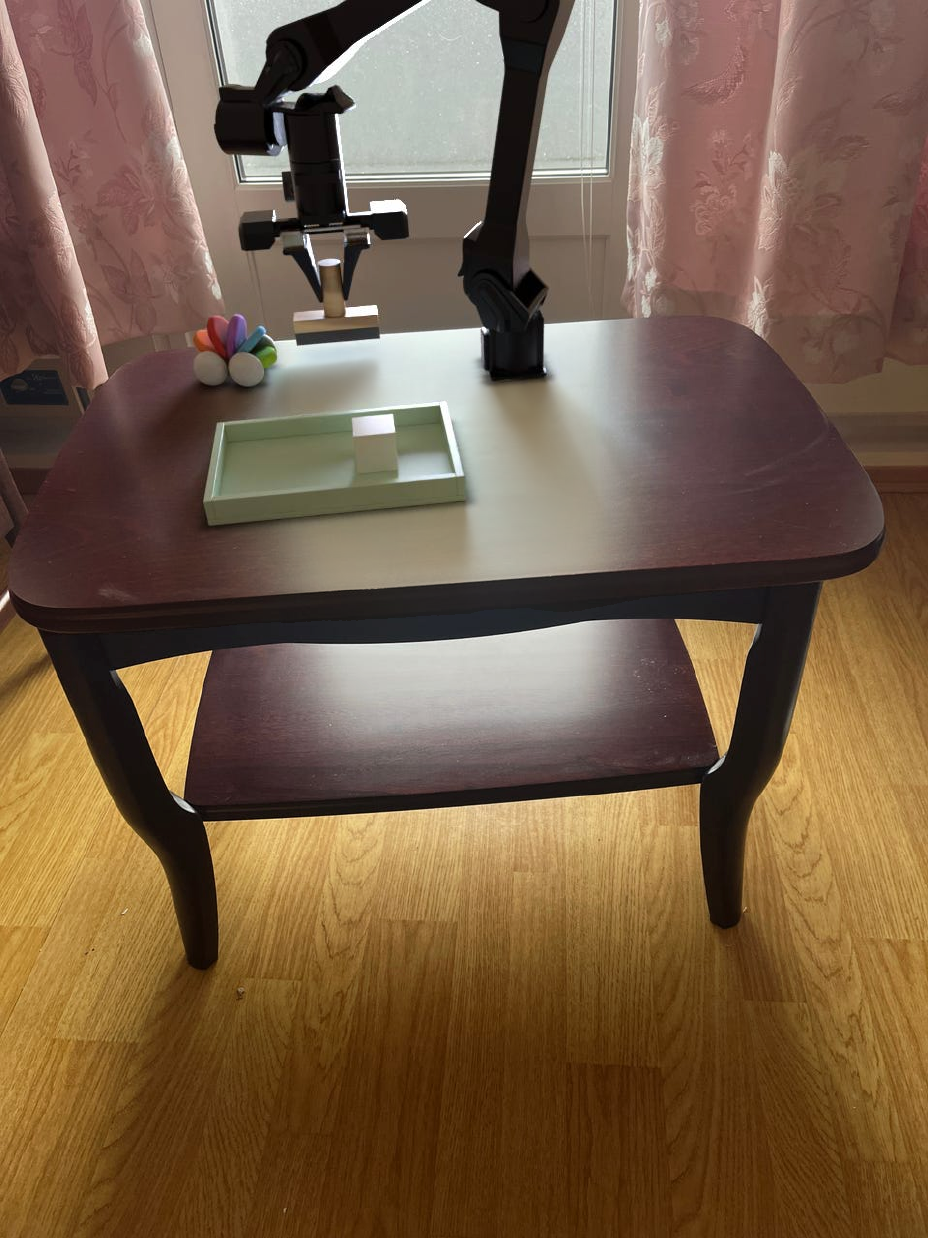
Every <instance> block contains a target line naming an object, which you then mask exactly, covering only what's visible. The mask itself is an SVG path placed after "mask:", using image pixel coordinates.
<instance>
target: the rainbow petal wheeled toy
mask: <svg viewBox="0 0 928 1238" xmlns="http://www.w3.org/2000/svg"><path fill="white" fill-rule="evenodd" d="M266 332H267V331H266V328H265V327H264V326H262V325H259V326H258V327H257V328H256V329H255V330H254V331H253V332H252V333H251V334H249V336H247V322H246V319H245V317H243V316H242V315H241V314H238V313H235V314H233V315H232V316H231V318H230V320H229V321H228V320H226V319H225V318H224V317H222V316H220V315H212V316H210V317H209V318H208V319H207V322H206V329H200V330H197V331H196V332H195V333H194V334H193V338H192V339H193V340H192V341H193V345H195V348H196V349H197V350H198V351H199V352H200V353H198V354H197V355H196V356H195V358H194V360H193V364H192V365H193V367H192V368H193V372H194V375H195V376H196V378H197V379H198V380H199V381H200V382H201V383H203V384H205V385H208V386H218V385H222V384H223V383H224V382H226V380H227V378H228V376H229V375H230V377H231V378H232V380H233V381H234V382H235V383H236V384H238V385H240V386H242V387H253V386H256V385H258V384H259V383H260V382H261V381H262V380H263V378H264V374H265V371H264V370H265V369H267V368H271V366H273V365H275V363H276V362H277V360H278V348H277V345H276V343H275V341H274V340H273V339H272V338H271V337H270V336H269V335H267V334H266Z"/></svg>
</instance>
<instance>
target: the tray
mask: <svg viewBox="0 0 928 1238" xmlns="http://www.w3.org/2000/svg"><path fill="white" fill-rule="evenodd" d="M387 414H393V420H394V427H395V435H396V445H397V456H398V467H399V470H392V471H382V472H371V473H361V474H358V473H357V466H356V458H355V450H354V442H353V432H352V418H355V417H366V416H376V415H387ZM211 448H212V449H211V455H210V460H209V461H210V462H209V467H208V471H207V477H206V483H205V488H204V494H203V500H202V503H203V508H204V511H205V516H206V519H207V520H206V521H207V525H208V526H209V527H211V526H213V527H214V526H221V525H232V524H233V525H234V524H242V523H252V522H263V521H272V520H281V519H282V520H283V519H292V518H293V519H294V518H301V517H302V518H304V517H311V516H322V515H323V516H324V515H332V514H333V515H334V514H343V513H344V514H345V513H352V512H363V511H372V510H373V511H374V510H382V509H391V508H403V507H404V508H405V507H412V506H422V505H432V504H433V505H434V504H442V503H452V502H464V501H466V500H467V495H466V492H467V491H466V475H465V472H464V467H463V463H462V459H461V455H460V452H459V448H458V443H457V439H456V435H455V431H454V427H453V422H452V418H451V415H450V411H449V406H448V403H447V401H439V402H438V401H437V402H427V403H416V404H406V405H394V406H383V407H382V406H381V407H372V408H363V409H351V410H342V411H341V410H340V411H330V412H319V413H308V414H298V415H297V414H296V415H287V416H286V415H284V416H274V417H262V418H254V419H253V418H252V419H243V420H242V419H241V420H232V421H231V420H230V421H221V422H217V423H216V427H215V431H214V438H213V443H212V447H211Z"/></svg>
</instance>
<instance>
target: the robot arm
mask: <svg viewBox="0 0 928 1238" xmlns="http://www.w3.org/2000/svg"><path fill="white" fill-rule="evenodd" d="M429 1H430V0H343V1H342V2H340V3H339V4H337V5H335V6H333V7H330V8H327V9H325V10H322V11H319V12H316V13H313V14H311V15H308V16H305V17H303V18H300V19H297V20H294V21H292V22H289V23H286V24H284V25H281V26H279V27H277V28H274V29H273V30H272V31H271V32H270V33H269V34H268V36H267V39H266V40H265V52H264V54H265V62H264V65H263V67H262V69H261V71H260V74H259V77H258V79H257V80H256V83H255V85H254V86H253V85H252V86H251V85H247V86H246V85H242V84H238V83H227V84H224V85H221V86H219V87H218V96H219V100H218V103H217V105H216V109H215V114H214V123H213V130H214V131H213V132H214V135H215V139H216V142H217V144H218V147H219V148H220V150H221V151H222V152H223V153H224V154H226V155H229V156H253V157H254V156H255V157H278V156H279V155H280V154H281V153H282V150H283V149H284V147H285V146H286V147H287V154H288V163H289V167H290V170H286V171H281V181H282V190H283V197H284V198H283V199H284V201H285V202H286V203H287V204H288V203H289V204H290V203H295V211H296V217H286V218H277V216H276V212H275V211H276V210H275V209H263V210H253V211H244V212H243V213H242V215H241V216H240V217H239V223H238V226H237V233H238V239H239V244H240V249H241V251H243V252H254V251H255V252H256V251H265V250H271V248H272V247H273V245H274V244H275V243H276V238H279V239H280V242H282V245H281V246H282V247H281V251H282V255H283V256H288V257H289V256H290V257H292V258H293V259H294V261H295V263H296V264H297V265H298V267H299V269H301V271H302V273H303V274H304V276H305V278H306V279H307V281H308V283H309V285H310V288H311V289H312V291H313V293H314V295H315V297H316V299H317V301H318V303H319V304H323V299H322V292H321V285H320V278H319V271H318V268H317V265H316V261H315V257H314V253H313V249H312V245H311V240H310V236H312V235H326V234H338V233H342V282H343V293H344V300H345V302H346V301H348V300H349V297H350V292H351V287H352V282H353V278H354V273H355V270H356V268H357V264H358V261H359V259H360V256H361V254H362V251H363V250H364V251H365V250H369V249H371V242H370V241H371V240H370V234H371V233H370V231H373V234H374V235H375V236H376V237H377V238H378V239H379V240H380V241H392V240H404V239H407V238H409V237H410V228H409V227H410V226H409V218H408V217H409V216H408V212H407V209H406V205H405V204H404V203H403V202H402V201H401V200H400V199H396V200H395V199H394V200H383V201H382V200H380V201H369V204H370V211H361V212H351V213H350V212H349V202H348V201H349V200H348V193H347V185H346V179H345V170H344V169H345V168H344V162H343V161H344V160H343V153H342V144H341V135H340V125H339V117H338V115H343V114H346V113H347V112H349V111H351V110H352V109H355V108H356V106H357V102H356V100H355V99H353V98H352V97H351V96H350V95H349V94H347V93H346V92H345V91H344V90H343V89H342V87H341V86H340V84H339V83H336V84H334V85H332V86H329V87H327V89H326V91H325V92H303V93H301V94H300V95H299V96H298V98H296V101H284V98H285V97H288V96H290V95H292V94H294V93H297V92H298V93H299V92H300V91H303V90H306V89H308V88H310V87H313V86H315V85H318V84H319V83H322V82H324V81H327V80H328V79H330V78H331V77H333V75H335V74H336V73H337V72H338V71H339V70H340V69H341V68H342V67H343V66H344V65H345V64H347V62H348V61H349V60H350V59H351V58H352V57H353V56H354V54H356V52H357V51H358V50H359V48H360V47H361V46H362V45H364V43H365V42H367V40H369V39H370V38H372V37H374V36H375V35H376V34H379V33H380V32H381V31H383V30H385V29H386V28H388V27H389V26H391V25H392V24H394V23H396V22H397V21H399V20H400V19H402V18H404V17H405V16H407V15H408V14H410V13H412V12H413V11H415V10H417V9H418V8H420V7H421V6H424V5H425V4H426V3H428V2H429ZM474 1H475V2H476V3H479V4H480V5H482V6H484V7H486V8H489V9H491V10H494V11H496V12H498V37H499V42H500V43H499V44H500V49H501V55H502V60H503V61H502V62H503V81H502V86H501V87H502V88H501V95H500V102H499V109H498V116H497V117H498V118H497V123H496V133H495V139H494V146H493V154H492V161H491V169H490V177H489V183H488V190H487V191H488V192H487V199H486V207H485V212H484V213H485V214H484V219H483V222H482V221H480V222H479V223H477V224H476V225H475V226H474V227H473V228H472V229H471V230H470V231H469V232H468V233H467V234H466V235H465V236H464V237H463V238H462V246H461V247H462V263H461V266H460V268H459V270H458V272H457V277H458V278H461V277H462V289H463V293H464V295H465V296H466V297H467V298H468V300H469V301H470V303H472V304H473V306H475V309H476V311H477V314H478V316H479V320H480V322H481V324H482V327H481V328H480V350H481V351H480V356H481V357H480V358H481V364H482V367H483V370H484V371H486V372H487V374H488V376H489V379H490V381H492V382H500V381H511V380H512V381H513V380H523V379H533V378H534V379H535V378H543V377H547V376H548V370H547V368H546V366H545V363H544V362H545V360H544V359H545V358H544V357H545V353H544V352H545V317H544V315H543V313H542V311H541V309H540V308H542V307H543V305H544V304H545V302H546V299H547V296H548V294H549V291H550V287H549V286H548V284H546V283H545V282H544V281H543V279H542V278H541V277H540V276H539V275H538V274H537V273H536V272H535V270H534V269H533V268H532V267H531V266H530V237H529V231H528V226H527V209H528V204H529V197H530V192H531V191H530V190H531V187H532V186H531V185H532V180H533V172H534V167H535V161H536V154H537V148H538V142H539V135H540V130H541V123H542V117H543V111H544V106H545V99H546V93H547V88H548V87H547V86H548V80H549V75H550V72H551V71H550V70H551V69H552V66H553V63H554V60H555V58H556V57H557V56H556V55H557V54H558V51H559V48H560V47H561V43H562V42H563V38H564V36H565V33H566V30H567V28H568V24H569V21H570V19H571V16H572V12H573V10H574V6H575V3H576V0H474Z"/></svg>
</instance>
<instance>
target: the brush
mask: <svg viewBox="0 0 928 1238" xmlns="http://www.w3.org/2000/svg"><path fill="white" fill-rule="evenodd" d="M341 265H342V264H341V261H340V260H339V259H337V258H325V259H322V260H319V261H318V262H317V271H318V276H319V280H320V285H321V292H322V299H323V303H322V307H323V309H318V310H306V311H296V312H295V311H293V317H292V325H293V331H294V336H295V342H296V346H297V347H299V346H300V347H301V346H311V345H322V344H334V343H346V342H358V341H367V340H380V339H381V334H380V333H381V332H380V323H379V314H378V307H377V305H365V306H355V307H353V306H352V307H346V301H345V300H344V293H343V272H342V266H341Z"/></svg>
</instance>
